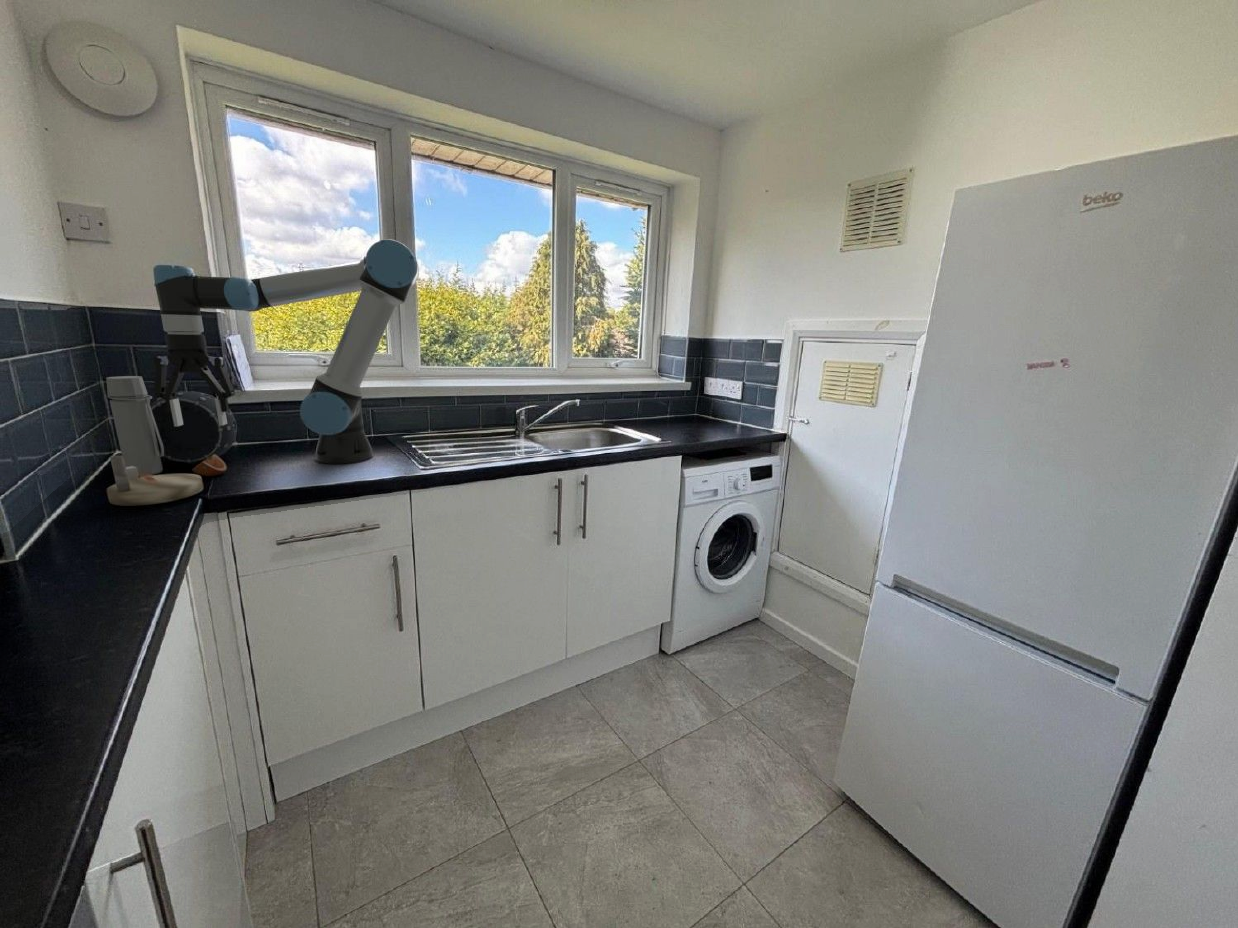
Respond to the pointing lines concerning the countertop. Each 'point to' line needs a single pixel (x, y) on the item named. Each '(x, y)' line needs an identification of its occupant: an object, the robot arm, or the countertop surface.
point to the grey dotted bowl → (193, 428)
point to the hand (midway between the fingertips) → (201, 424)
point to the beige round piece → (150, 486)
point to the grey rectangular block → (132, 472)
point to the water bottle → (135, 424)
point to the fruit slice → (211, 466)
